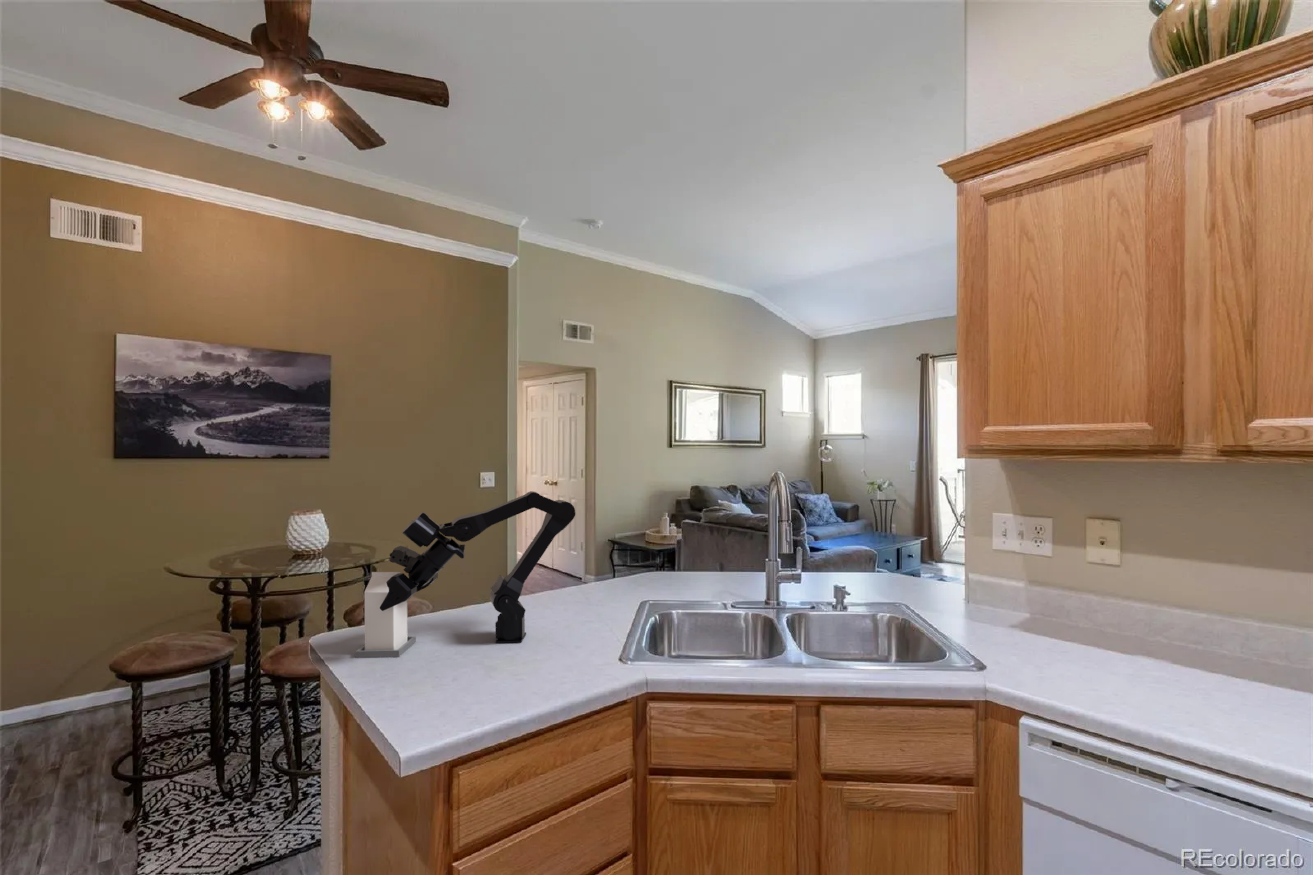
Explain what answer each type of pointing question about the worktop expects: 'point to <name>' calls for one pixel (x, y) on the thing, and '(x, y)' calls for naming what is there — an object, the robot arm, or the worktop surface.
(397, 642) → the milk carton
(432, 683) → the worktop surface
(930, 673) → the worktop surface
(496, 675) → the worktop surface
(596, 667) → the worktop surface
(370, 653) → the drip tray
